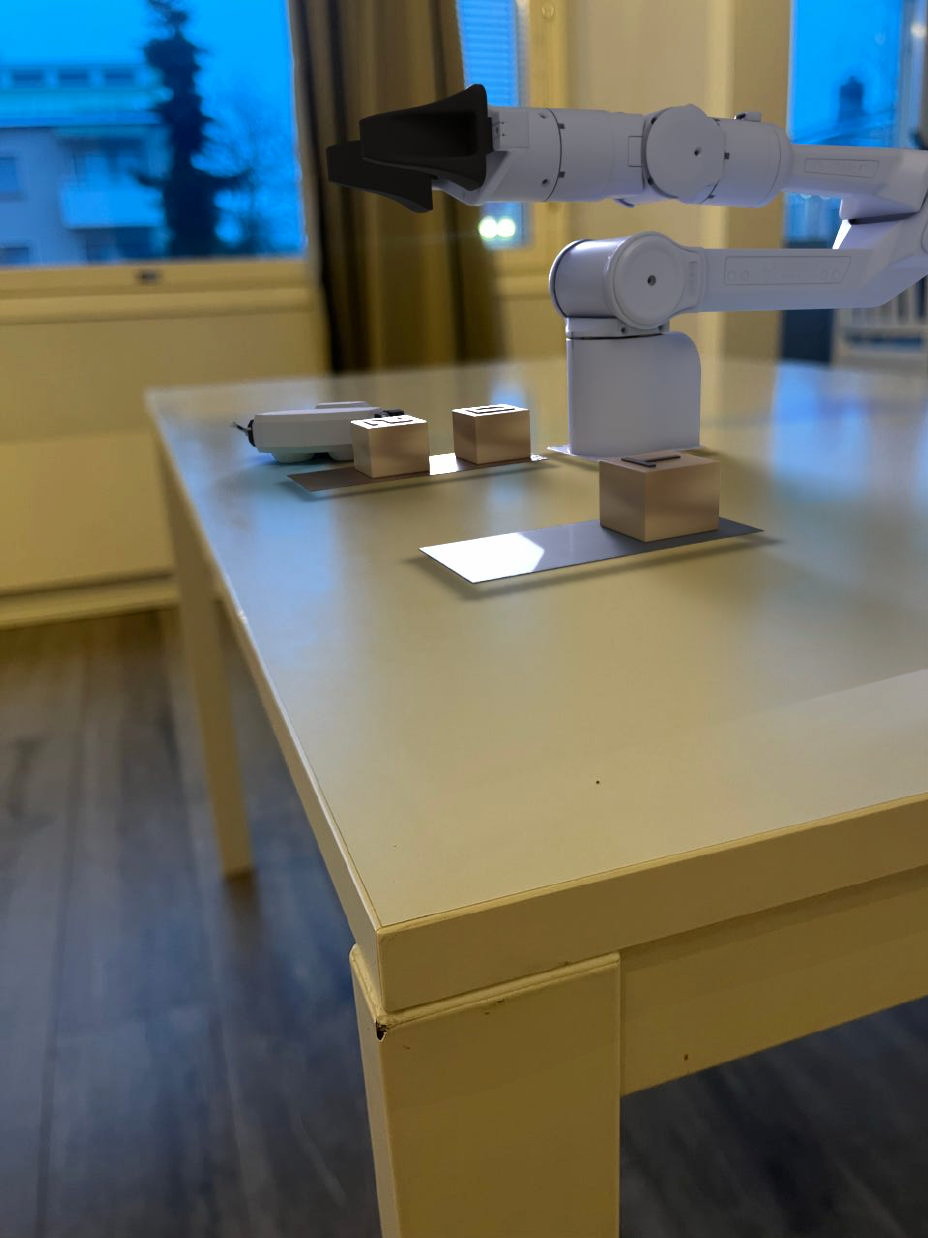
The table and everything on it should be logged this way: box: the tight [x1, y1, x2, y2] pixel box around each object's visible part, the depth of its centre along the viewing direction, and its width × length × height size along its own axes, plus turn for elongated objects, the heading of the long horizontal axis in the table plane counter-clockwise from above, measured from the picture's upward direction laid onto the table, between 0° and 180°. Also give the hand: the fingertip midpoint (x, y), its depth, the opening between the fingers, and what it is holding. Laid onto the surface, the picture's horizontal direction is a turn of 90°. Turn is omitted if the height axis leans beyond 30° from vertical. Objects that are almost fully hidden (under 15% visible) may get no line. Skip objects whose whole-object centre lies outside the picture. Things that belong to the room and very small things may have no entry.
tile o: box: [451, 404, 532, 464], centre depth 71 cm, size 4×4×4 cm
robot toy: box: [229, 400, 415, 463], centre depth 79 cm, size 12×4×15 cm
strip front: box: [418, 516, 765, 585], centre depth 48 cm, size 16×7×1 cm, turn 113°
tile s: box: [350, 415, 431, 478], centre depth 69 cm, size 4×4×4 cm
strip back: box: [286, 452, 549, 493], centre depth 70 cm, size 18×7×1 cm, turn 113°
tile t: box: [598, 450, 722, 543], centre depth 49 cm, size 4×4×4 cm
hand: (343, 152), depth 59 cm, fingers open, 7 cm apart
